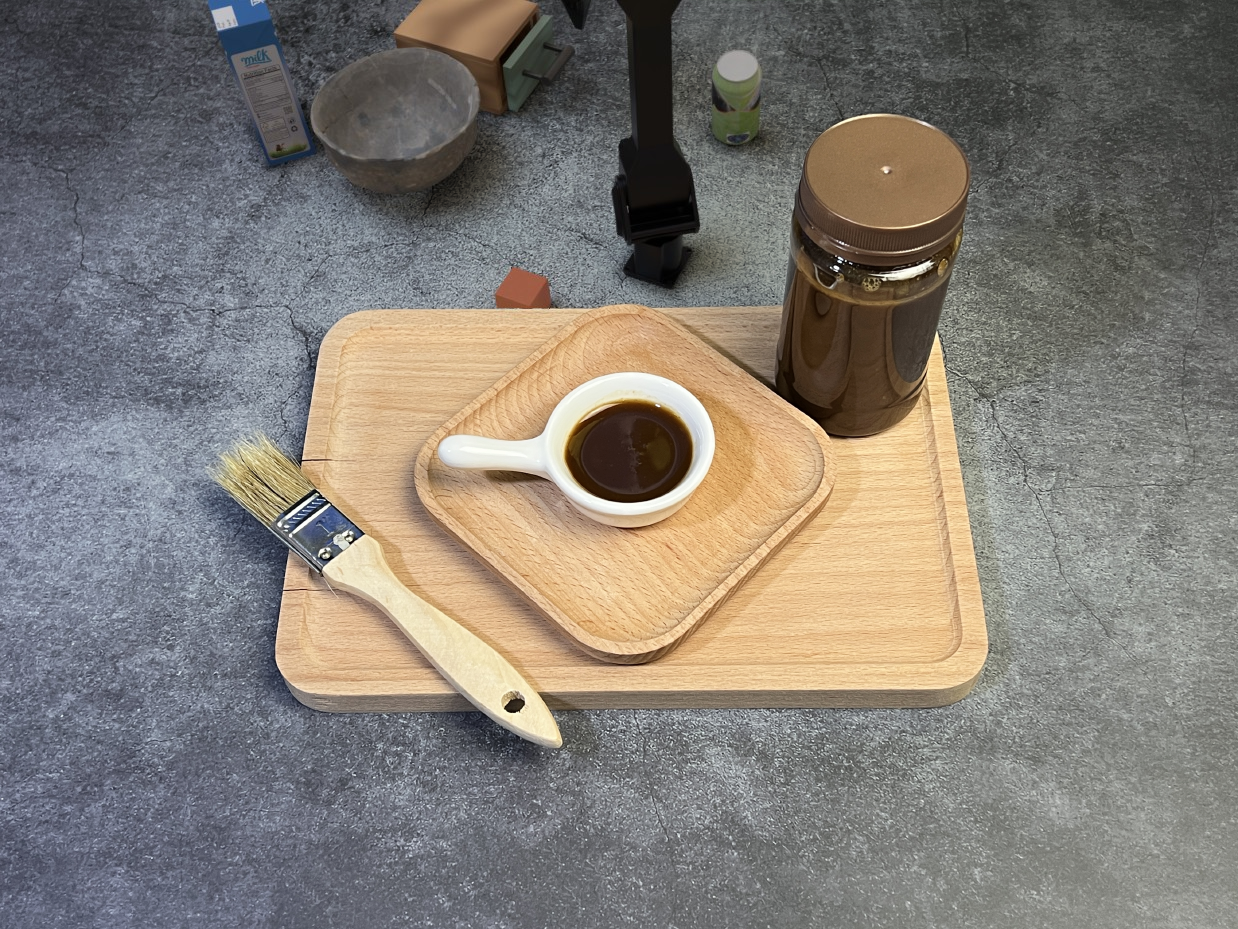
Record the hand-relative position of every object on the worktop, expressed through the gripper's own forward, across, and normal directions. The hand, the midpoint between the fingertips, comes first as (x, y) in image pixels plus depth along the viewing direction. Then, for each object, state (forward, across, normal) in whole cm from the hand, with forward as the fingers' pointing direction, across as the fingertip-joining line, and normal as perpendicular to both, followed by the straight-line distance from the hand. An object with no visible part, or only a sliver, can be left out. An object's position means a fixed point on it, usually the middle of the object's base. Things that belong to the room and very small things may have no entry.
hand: (601, 8), depth 135 cm
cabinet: (+14, +5, -18) cm, 23 cm away
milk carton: (+14, +29, -31) cm, 45 cm away
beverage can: (+14, -3, +18) cm, 23 cm away
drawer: (+13, +4, -13) cm, 19 cm away
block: (+14, +35, +14) cm, 40 cm away
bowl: (+14, +24, -14) cm, 31 cm away
